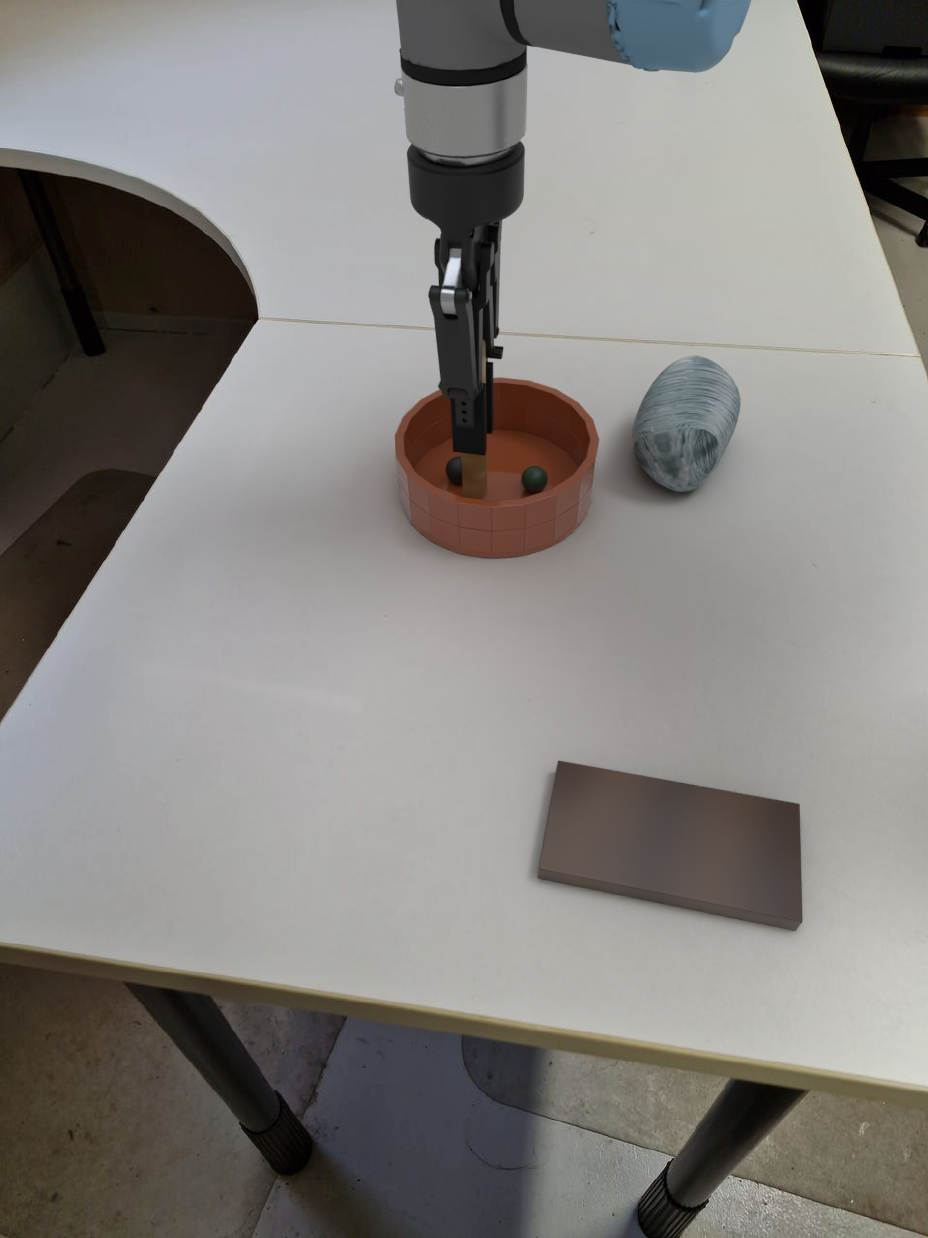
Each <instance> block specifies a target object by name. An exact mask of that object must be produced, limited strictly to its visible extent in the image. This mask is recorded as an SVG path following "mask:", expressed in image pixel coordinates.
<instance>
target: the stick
mask: <svg viewBox="0 0 928 1238" xmlns="http://www.w3.org/2000/svg"><path fill="white" fill-rule="evenodd" d="M482 382H483V383H486V348H485V341H484V340H483V339H482ZM486 431H487V425H486ZM461 463H462V486H463V495H464V497H465V498H472V499H480V500H481V499H483V498H484V497H485V496H486V495H487V451H486V454H485V456H484V455H476V454H467V453H461Z"/></svg>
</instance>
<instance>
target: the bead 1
mask: <svg viewBox="0 0 928 1238" xmlns="http://www.w3.org/2000/svg"><path fill="white" fill-rule="evenodd" d="M446 475H447V477H448V478H449V479H450V480H451V481H453V482H455V483H462V463H461V457H460V456H457V457H454V458H452V459H450V460H449V461H448V463H447V465H446Z"/></svg>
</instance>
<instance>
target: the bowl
mask: <svg viewBox="0 0 928 1238" xmlns="http://www.w3.org/2000/svg"><path fill="white" fill-rule="evenodd" d="M493 405H494V429H493V432H492V434H487V495H486V496H485V497H484V498H483V499H481V500H480V499H472V498H465V497H464V495H463V486H462V483H455V482H453V481H451V480H450V479H449V478H448V477H447V475H446V465H447V463H448V461H449V460H450V459H452V458H454V457H457V456H460V457H461V453H459V452H453V440H452V421H451V401H450V398H447V397H443V396H442V392H441V389H439V388H438V389H437V390H436V391H434V392H432V393H430V394H428V395H426V396H425V397H423V398H420V400H418V401H417V402H416V403H415V404H414V405H413V406H412V407H411V408H410V409H409V410H408V411H407V412H406V413H405V414H404V415H403V416H402V418H401V420H400V422H399V425H398V427H397V429H396V431H395V434H394V451H395V460H396V461H395V462H396V463H395V464H396V470H397V479H398V487H399V488H398V489H399V494H400V496H399V497H400V502H401V505H402V509H403V512H404V513H405V515H406V517H407V519H408V521H409V522H410V523H411V524H412V526H413V527H414V528H415V530H417V531H418V532H419V534H420V535H422V536H423V537H425V538H426V539H428V540H429V541H430V542H432V543H435V545H437V546H438V547H441V548H444V549H446V550H449V551H451V552H454V553H458V554H461V555H466V556H471V557H476V558H484V559H485V558H486V559H505V558H515V557H521V556H527V555H531V554H533V553H537V552H540V551H541V552H542V551H543V550H545V549H549V548H551V547H552V546H555V545H556V544H557V543H560V542H561V541H563V540H565V539H566V538H567V537H569V536H570V535H571V534H573V532H574V531H576V530H577V528H579V527H580V525H581V524H582V523H583V521H584V520H585V519H586V517H587V514H588V513H589V511H590V508H591V505H592V501H593V495H594V489H595V482H596V471H597V465H598V464H597V463H598V455H599V446H600V437H599V433H598V430H597V427H596V424H595V420H594V418H592V416H591V415H590V414H589V413H588V412H587V410H586V409H585V408H584V407H583V406H582V405H581V403H580V402H579V401H577V400H575V399H574V398H572V397H570V396H569V395H567V394H566V393H564V392H562V391H560V390H559V389H558V388H555V387H552V386H548V385H545V384H542V383H539V382H536V381H532V380H529V379H521V378H520V379H519V378H510V377H502V376H501V377H493ZM530 466H539V467H541V468H543V469H544V470H545V472H546V473H547V476H548V482H547V485H546V487H545V488H544V489H543V490H542V491H540V492H537V493H532V492H529V491H527V490H526V489H525V488H524V487H523V485H522V483H521V476H522V473H523V472H524V470H525V469H526V468H528V467H530Z"/></svg>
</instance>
